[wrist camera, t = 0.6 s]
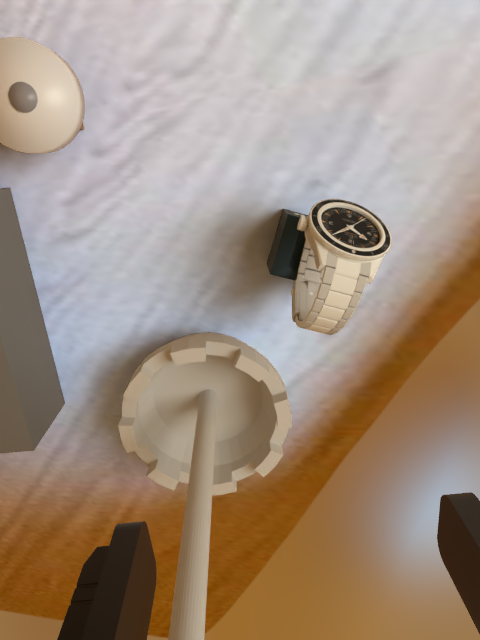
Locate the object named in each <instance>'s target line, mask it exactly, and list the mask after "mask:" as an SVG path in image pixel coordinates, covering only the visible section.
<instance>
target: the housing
mask: <svg viewBox="0 0 480 640" xmlns="http://www.w3.org/2000/svg"><path fill="white" fill-rule="evenodd" d="M64 404H65V402H64V398H63V394H62V390H61V386H60V382H59V378H58V374H57V370H56V366H55V363H54V359H53V355H52V351H51V347H50V343H49V339H48V335H47V331H46V327H45V323H44V319H43V315H42V312H41V308H40V304H39V300H38V296H37V292H36V288H35V284H34V280H33V276H32V272H31V268H30V264H29V261H28V257H27V253H26V249H25V245H24V241H23V237H22V233H21V229H20V225H19V221H18V217H17V213H16V210H15V206H14V202H13V198H12V194H11V190H10V188H1V189H0V453H8V452H21V451H33V450H34V449H35V448H36V446H37V445H38V443H39V442H40V440H41V439H42V437H43V436H44V434H45V433H46V431H47V430H48V428H49V427H50V425H51V424H52V422H53V421H54V419H55V418H56V416H57V415H58V413H59V412H60V410H61V409H62V407H63V405H64Z"/></svg>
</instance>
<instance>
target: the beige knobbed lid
mask: <svg viewBox="0 0 480 640" xmlns="http://www.w3.org/2000/svg"><path fill="white" fill-rule="evenodd" d="M84 112H85V102H84V95H83V91H82V88H81V85H80V82H79V80H78V78H77V76H76V74H75V73H74V71H73V70H72V68H71V67H70V66H69V65H68V63H67V62H66V61H65V60H64V59H62V58H61V57H60V56H59V55H57V54H56V53H55V52H53V51H51V50H50V49H48V48H46V47H44V46H42V45H41V44H39V43H37V42H34V41H32V40H29V39H25V38H20V37H8V38H2V39H0V143H1V144H3V145H5V146H7V147H8V148H11V149H13V150H16V151H19V152H24V153H49V152H54V151H57V150H60V149H62V148H64V147H65V146H67V145H68V144H69V143H70V142H71V141H72V140H73V139H74V138H75V137H76V135H77V134H78V132H79V130H80V128H81V126H82V123H83V119H84Z"/></svg>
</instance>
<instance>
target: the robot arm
mask: <svg viewBox="0 0 480 640" xmlns="http://www.w3.org/2000/svg"><path fill="white" fill-rule="evenodd" d="M437 539H438V547H439V551H440V554H441V557H442V560H443V562H444V564H445V566H446V568H447V570H448V572H449V574H450V576H451V578H452V580H453V582H454V584H455V586H456V588H457V590H458V592H459V594H460V596H461V598H462V600H463V602H464V604H465V606H466V608H467V610H468V612H469V614H470V616H471V618H472V620H473V622H474V624H475V626H476V628H477V630H478V632H479V634H480V501H479V500H478V498H477V497H476V496H475V495H474V494H473V493H462V494H450V495H443V496H442V497H441V502H440V512H439V523H438V535H437ZM155 587H156V561H155V557H154V553H153V548H152V544H151V540H150V536H149V531H148V527H147V524H146V522H145V521H144V522H133V523H122V524H117V525H116V527H115V530H114V533H113V536H112V539H111V543H110V546H103V547H97V548H96V549H95V551H94V552H93V553H92V554H91V556H90V557H89V558H88V560H87V561H86V562H85V564H84V565H83V568H82V571H81V573H80V576H79V579H78V582H77V588H76V589H75V591H74V594H73V596H72V599H71V605H70V606H69V608H68V611H67V614H66V616H65V619H64V622H63V625H62V628H61V631H60V634H59V637H58V639H57V640H147V634H148V629H149V623H150V617H151V611H152V605H153V599H154V593H155Z"/></svg>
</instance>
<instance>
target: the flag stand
mask: <svg viewBox="0 0 480 640" xmlns="http://www.w3.org/2000/svg"><path fill="white" fill-rule="evenodd" d="M123 397H124V398H123V402H122V417H121V420H120V422H119V425H118V428H119V433H120V438H121V441H122V444H123V446H124V448H125V451H126V453H130V452H133V451H135V452H136V454H137V455H138V456H139V457H140V458H141V459H142V460H143V461H144V462H145V463H146V464H147V465H148V466H149V469H148V473H147V477H149V478H150V479H152V480H153V481H155V482H157V483H158V484H160V485H162V486H164V487H167V488H169V489H171V490H175V488H176V486H177V484H178V482H183V483H186V484H188V491H187V499H186V507H185V514H184V522H183V530H182V538H181V545H180V553H179V561H178V569H177V576H176V584H175V592H174V600H173V607H172V615H171V623H170V631H169V639H168V640H204V633H205V615H206V597H207V579H208V561H209V543H210V525H211V507H212V495H223V494H227V493H231V492H236V491H237V486H236V481H239V480H241V479H243V478H246V477H248V476H250V475H252V474H254V473H255V472H258V473H259V474H261V475H262V476H263V477H265V476H266V475H267V474H268V473H269V472H270V471H271V470H272V469H273V468H274V467H275V466H276V465H277V463H278V462H279V460H280V459H281V458H282V456H283V451H282V444H283V442H284V440H285V437H286V435H287V432H288V428H292V418H291V410H290V405H289V401H288V397H287V393H286V389H285V386H284V383H283V381H282V379H281V377H280V375H279V373H278V371H277V370H276V369H275V368H274V366H273V365H272V364H271V363H270V362H269V360H268V359H267V358H265V357H264V356H263V355H262V354H260V353H259V352H258V351H257V350H255V349H254V348H252V347H250V346H248V345H247V344H246V343H244V342H242V341H240V340H238V339H236V338H234V337H231V336H228V335H224V334H219V333H210V332H208V333H195V334H192V335H188V336H184V337H182V338H179V339H177V340H174V341H172V342H169V343H167V344H165V345H163V346H161V347H159V348H158V349H156V350H155V351H154V352H152V353H151V354H150V355H148V356H147V357H146V358H145V359H144V360H143V361H142V363H141V364H140V365H139V366H138V367H137V368H136V370H135V372H134V374H133V376H132V377H131V379H130V381H129V383H128V386H127V388H126V390H125V392H124V395H123Z"/></svg>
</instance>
